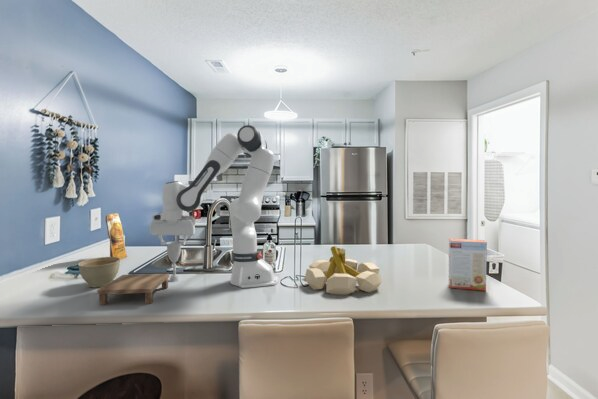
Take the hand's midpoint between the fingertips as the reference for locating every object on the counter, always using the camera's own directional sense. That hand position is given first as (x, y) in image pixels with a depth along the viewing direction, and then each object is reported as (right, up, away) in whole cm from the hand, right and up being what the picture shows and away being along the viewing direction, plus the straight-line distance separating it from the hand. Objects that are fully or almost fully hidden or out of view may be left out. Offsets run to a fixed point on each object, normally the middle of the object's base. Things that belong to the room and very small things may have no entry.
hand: (173, 244), depth 151 cm
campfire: (+80, -17, -4) cm, 82 cm away
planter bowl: (-31, -18, -5) cm, 36 cm away
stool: (-7, -18, -19) cm, 28 cm away
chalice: (0, -17, +1) cm, 17 cm away
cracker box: (+132, -17, -13) cm, 134 cm away
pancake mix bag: (-51, -15, +43) cm, 69 cm away
